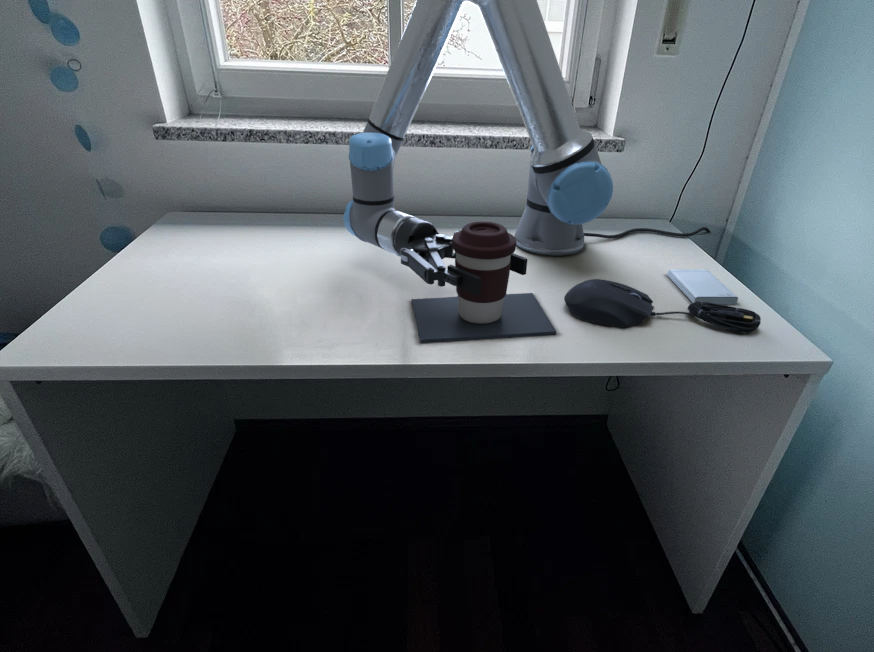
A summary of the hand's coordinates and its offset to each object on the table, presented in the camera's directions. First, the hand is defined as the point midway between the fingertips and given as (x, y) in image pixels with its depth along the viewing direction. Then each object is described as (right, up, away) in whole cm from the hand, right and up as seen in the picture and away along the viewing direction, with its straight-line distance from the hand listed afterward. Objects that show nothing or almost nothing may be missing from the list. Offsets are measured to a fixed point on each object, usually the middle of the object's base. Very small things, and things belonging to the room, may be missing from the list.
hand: (503, 276), depth 85 cm
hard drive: (+39, 0, +19) cm, 44 cm away
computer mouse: (+27, -6, +9) cm, 29 cm away
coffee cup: (-3, -6, +7) cm, 9 cm away
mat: (-3, -6, +7) cm, 10 cm away
